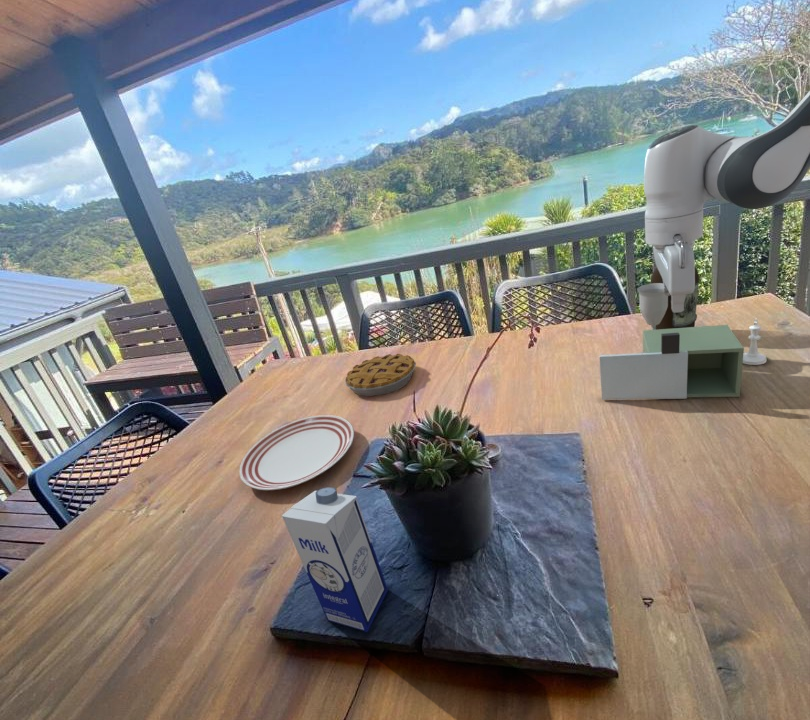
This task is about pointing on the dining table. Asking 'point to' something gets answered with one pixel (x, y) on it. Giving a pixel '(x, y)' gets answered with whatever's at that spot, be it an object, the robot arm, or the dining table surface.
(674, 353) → the sliding door
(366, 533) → the milk carton
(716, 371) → the cabinet
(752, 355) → the chess piece
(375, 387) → the pie
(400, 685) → the dining table surface
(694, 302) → the dark brown necked cylinder
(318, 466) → the dinner plate
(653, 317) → the chalice
